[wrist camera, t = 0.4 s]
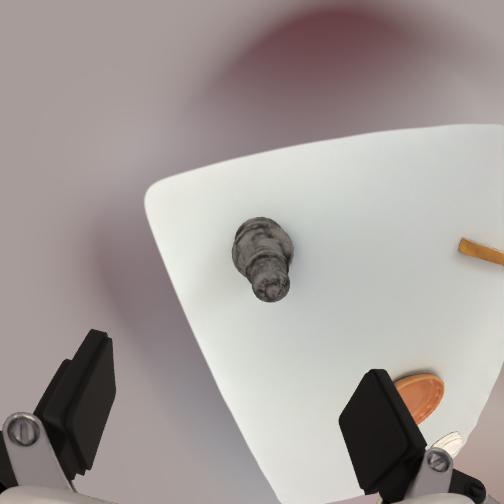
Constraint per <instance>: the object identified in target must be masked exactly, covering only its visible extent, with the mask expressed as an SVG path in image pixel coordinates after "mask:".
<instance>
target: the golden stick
mask: <svg viewBox="0 0 504 504" xmlns="http://www.w3.org/2000/svg"><path fill="white" fill-rule="evenodd" d="M458 250H460V251H461V252H463V253H465V254H467V255H470V256H474V257H477V258H481V259H484V260H487V261H491V262H494V263H497V264H501V265H504V252H503V251H500V250H497V249H495V248H492V247H489V246H486V245H483V244H480V243H477V242H475V241H472V240H469V239H466V238H462V240H461V243H460V246H459V249H458Z"/></svg>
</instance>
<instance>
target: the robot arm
mask: <svg viewBox="0 0 504 504" xmlns="http://www.w3.org/2000/svg"><path fill="white" fill-rule="evenodd" d="M115 394H116V386H115V374H114V362H113V346H112V339H111V338H109V337H108V335H107V333H106V332H102V331H98V330H94V329H91V330H90V331H89V333H88V334H87V336H86V338H85V339H84V341H83V343H82V344H81V346H80V347H79V349H78V351H77V353H76V354H75V356H74V358H73V359H72V360H69V359H66V360H64V361H63V362H62V364H61V365H60V367H59V369H58V370H57V372H56V374H55V375H54V377H53V379H52V380H51V382H50V384H49V386H48V387H47V389H46V391H45V393H44V394H43V396H42V398H41V400H40V402H39V403H38V405H37V407H36V409H35V411H34V413H33V414H31V413H26V412H17V413H14V414H12V415H10V416H9V417H8V418H7V419H6V420H5V422H4V424H3V428H2V431H0V504H117V503H113V502H109V501H105V500H101V499H97V498H94V497H90V496H86V495H83V494H79V493H78V492H77V490H76V488H75V487H74V484H73V483H72V481H71V480H74V479H75V475H76V473H77V474H80V475H83V476H84V474H85V471H86V469H87V470H91V468H92V465H93V461H94V458H95V455H96V452H97V449H98V446H99V443H100V440H101V436H102V433H103V430H104V427H105V424H106V422H107V419H108V416H109V413H110V410H111V407H112V404H113V402H114V399H115ZM339 426H340V429H341V431H342V434H343V437H344V440H345V443H346V446H347V449H348V452H349V455H350V458H351V461H352V464H353V468H354V471H355V474H356V477H357V480H358V483H359V486H360V488H361V489H363V490H364V493H365V495H370V494H375V493H377V492H379V494H380V497H379V499H378V501H377V504H500V503H499V502H497V501H496V500H495V499H494V498H492V497H491V496H490V495H487V496H486V489H485V487H484V485H483V484H482V483H481V481H479V480H478V479H475V478H473V477H471V476H469V475H466V474H464V473H462V472H460V471H458V470H455V469H453V460H452V458H451V456H450V454H449V453H448V452H447V451H445V450H444V449H442V448H438V447H432V448H429V449H428V450H427V451H426V449H425V447H426V446H427V443H426V441H425V439H424V437H423V435H422V433H421V432H420V430H419V428H418V426H417V424H416V422H415V421H414V419H413V417H412V415H411V413H410V411H409V410H408V408H407V406H406V404H405V403H404V401H403V399H402V397H401V395H400V394H399V392H398V390H397V388H396V387H395V385H394V383H393V382H392V380H391V378H390V376H389V375H388V373H387V371H386V370H384V369H371V370H369V372H368V373H366V374H365V375H364V376H363V378H362V380H361V382H360V383H359V385H358V387H357V389H356V390H355V392H354V394H353V395H352V397H351V399H350V400H349V402H348V404H347V405H346V407H345V408H344V410H343V411H342V413H341V415H340V417H339Z"/></svg>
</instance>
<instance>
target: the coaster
mask: <svg viewBox="0 0 504 504" xmlns="http://www.w3.org/2000/svg"><path fill="white" fill-rule="evenodd" d="M462 443H463V439H462V438H461V436H460V434H459V433H458V432H453V433H450V434H448V435H446V436H445V437H443V438H441V439H440V440H439V441H437V442H436V443H435V444H434V445H433V446H432V447H438V448H442V449H444V450H445V451H447V452H448V453H449V454H450V455H452V454H453V453H454V452H456V451H457V450H458V449H459V448H460V446H461V445H462ZM432 447H431V448H432Z"/></svg>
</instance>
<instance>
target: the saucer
mask: <svg viewBox="0 0 504 504" xmlns="http://www.w3.org/2000/svg"><path fill="white" fill-rule="evenodd" d="M394 385H395V387H396V388H397V390H398V392H399V394H400V395H401V397H402V399H403V401H404V403H405V404H406V406H407V408H408V410H409V411H410V413H411V415H412V417H413V419H414V421H415V422H416V424H417V425H418V424H419V423H421V422H422V421H423V420H425V419H426V418H427V417H428V416H429V415H430V414H431V413H432V412H433V411H434V410H435V408H436V407H437V406H438V404H439V403H440V401H441V399H442V397H443V394H444V383H443V381H442V380H441V379H440V378H439V377H437V376H435V375H432V374H418V375H413V376H409V377H406V378H403V379H401V380H399V381H397V382H395V383H394Z"/></svg>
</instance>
